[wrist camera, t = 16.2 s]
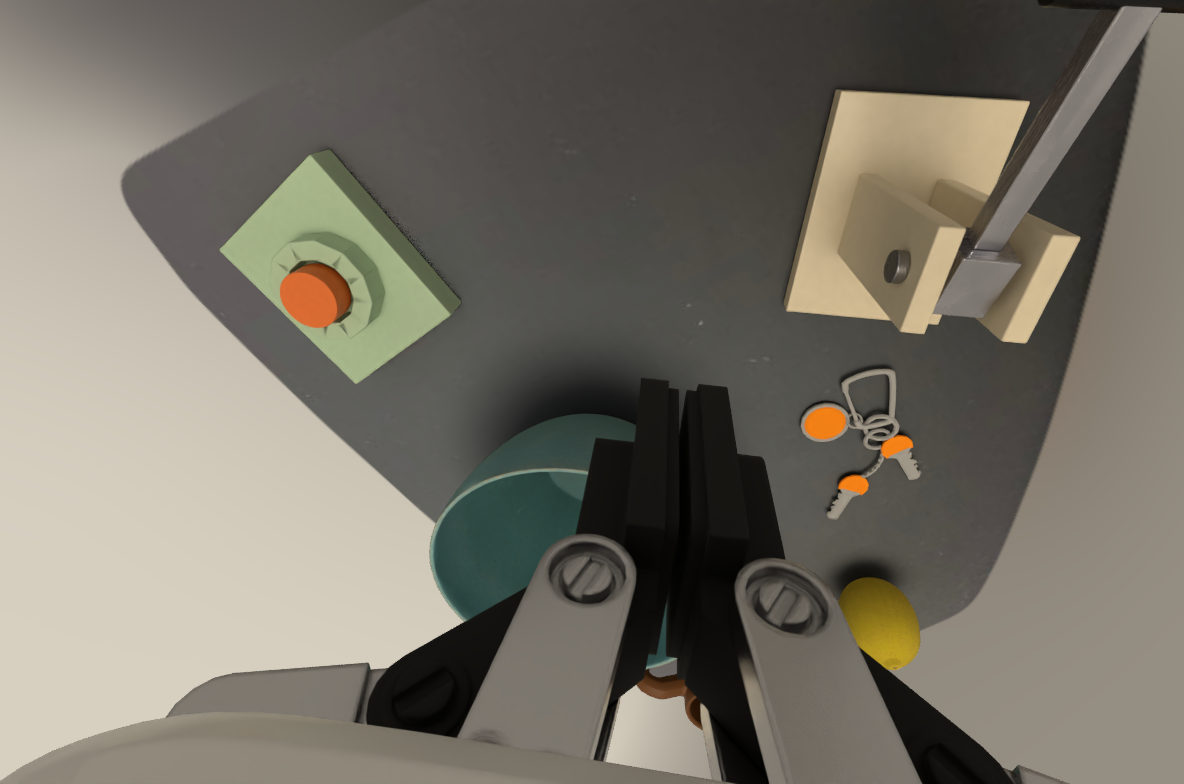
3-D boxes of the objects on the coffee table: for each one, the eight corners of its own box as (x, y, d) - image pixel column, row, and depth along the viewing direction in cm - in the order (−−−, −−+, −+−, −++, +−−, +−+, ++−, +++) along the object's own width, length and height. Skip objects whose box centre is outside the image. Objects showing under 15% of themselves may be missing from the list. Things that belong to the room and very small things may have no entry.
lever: (1052, -64, 16) (1090, -46, 14) (1241, -59, 15) (1301, -39, 14) (883, 277, 25) (895, 311, 23) (999, 286, 25) (1018, 322, 23)
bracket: (835, 89, 29) (920, 108, 19) (1017, 99, 28) (1208, 125, 18) (782, 303, 35) (825, 403, 25) (930, 317, 34) (1034, 425, 24)
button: (285, 283, 35) (267, 293, 33) (319, 251, 33) (302, 260, 32) (328, 326, 36) (313, 338, 35) (363, 298, 35) (349, 309, 33)
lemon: (848, 608, 49) (876, 697, 42) (815, 572, 47) (839, 659, 40) (910, 585, 46) (950, 676, 40) (878, 547, 45) (914, 635, 38)
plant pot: (610, 571, 50) (594, 705, 40) (444, 459, 46) (377, 578, 35) (766, 460, 42) (796, 596, 31) (580, 309, 37) (544, 409, 27)
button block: (241, 240, 38) (198, 259, 34) (329, 148, 34) (291, 159, 30) (370, 369, 42) (343, 397, 38) (462, 302, 38) (441, 326, 34)
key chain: (791, 385, 38) (793, 392, 37) (908, 358, 36) (912, 364, 35) (821, 518, 44) (824, 526, 43) (923, 501, 41) (927, 509, 41)
